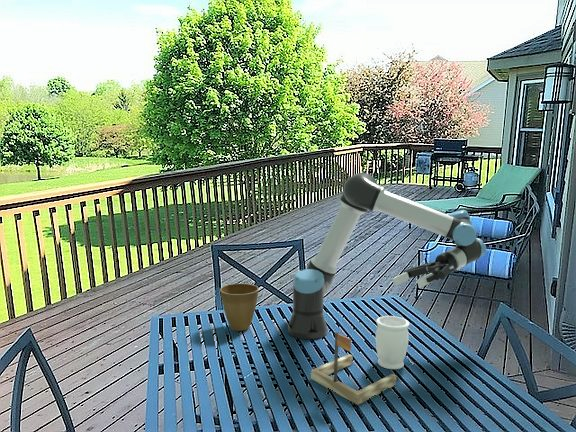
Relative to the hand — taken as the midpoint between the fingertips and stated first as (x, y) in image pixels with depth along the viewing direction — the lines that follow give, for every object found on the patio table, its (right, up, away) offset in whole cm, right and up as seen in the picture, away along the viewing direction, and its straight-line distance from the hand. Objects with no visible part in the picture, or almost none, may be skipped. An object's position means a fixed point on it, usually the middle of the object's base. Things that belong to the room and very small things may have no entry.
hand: (405, 283), depth 163 cm
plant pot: (-60, -21, +23) cm, 68 cm away
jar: (-6, -26, -6) cm, 28 cm away
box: (-20, -28, -18) cm, 39 cm away
